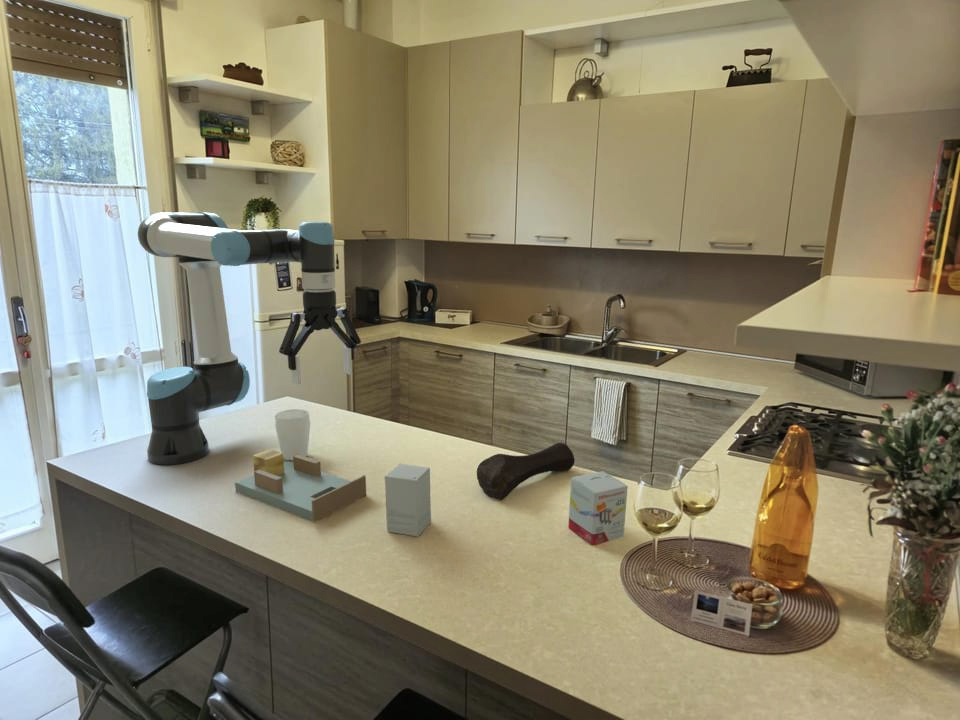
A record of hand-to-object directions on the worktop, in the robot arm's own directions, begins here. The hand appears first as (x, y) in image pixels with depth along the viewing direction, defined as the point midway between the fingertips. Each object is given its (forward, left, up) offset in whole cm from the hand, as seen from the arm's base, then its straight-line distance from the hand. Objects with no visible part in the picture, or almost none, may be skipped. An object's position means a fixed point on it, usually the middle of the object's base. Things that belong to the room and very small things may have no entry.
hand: (322, 378), depth 151 cm
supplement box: (+32, -8, -26) cm, 42 cm away
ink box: (+66, +12, -26) cm, 73 cm away
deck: (+1, -10, -26) cm, 28 cm away
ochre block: (-10, -10, -24) cm, 27 cm away
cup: (-19, +5, -26) cm, 33 cm away
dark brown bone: (+41, +26, -27) cm, 56 cm away
